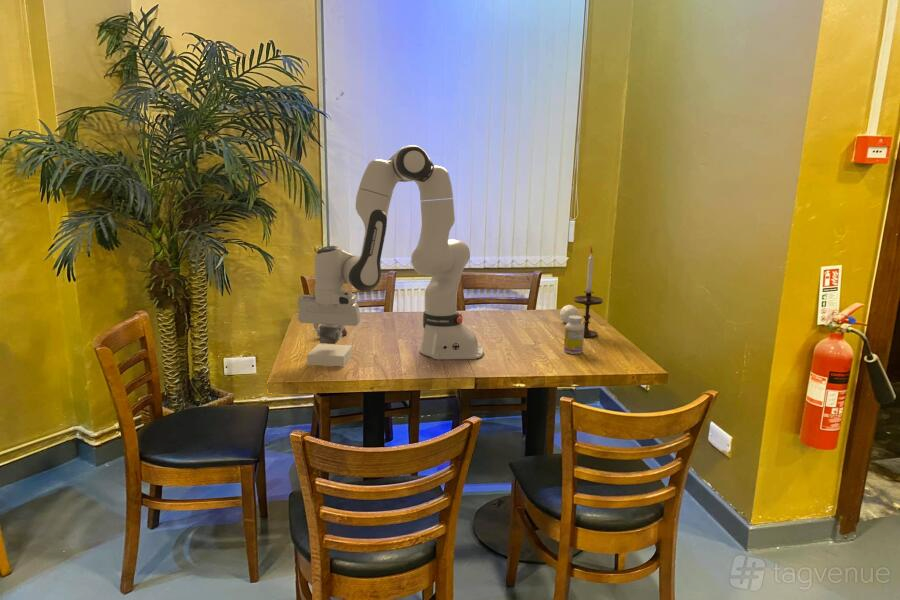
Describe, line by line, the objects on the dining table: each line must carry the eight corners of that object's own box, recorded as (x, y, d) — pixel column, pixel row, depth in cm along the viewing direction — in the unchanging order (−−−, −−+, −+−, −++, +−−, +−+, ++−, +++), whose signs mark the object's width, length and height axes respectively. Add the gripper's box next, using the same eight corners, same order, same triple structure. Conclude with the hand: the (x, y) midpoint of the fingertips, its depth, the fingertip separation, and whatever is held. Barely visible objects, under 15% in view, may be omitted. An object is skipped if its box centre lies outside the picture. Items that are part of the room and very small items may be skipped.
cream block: (352, 356, 218) (352, 345, 217) (343, 368, 206) (343, 356, 205) (318, 355, 219) (318, 343, 218) (307, 366, 207) (307, 354, 206)
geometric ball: (563, 329, 266) (552, 313, 266) (575, 320, 270) (564, 304, 270) (574, 324, 259) (563, 308, 259) (586, 315, 263) (575, 299, 263)
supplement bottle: (567, 348, 231) (569, 313, 228) (584, 350, 228) (587, 316, 225) (561, 352, 225) (563, 317, 222) (579, 355, 222) (582, 320, 219)
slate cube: (339, 339, 214) (338, 325, 212) (334, 344, 209) (334, 329, 208) (324, 338, 214) (324, 324, 213) (319, 343, 209) (319, 328, 208)
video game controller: (342, 337, 244) (337, 319, 245) (349, 334, 241) (343, 316, 242) (321, 342, 237) (315, 324, 238) (327, 339, 234) (321, 321, 235)
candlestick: (587, 340, 241) (594, 248, 233) (565, 333, 249) (571, 245, 241) (605, 335, 248) (612, 246, 240) (583, 329, 256) (589, 242, 248)
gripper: (294, 296, 206) (295, 337, 209) (356, 300, 204) (356, 341, 207) (301, 292, 212) (302, 332, 215) (361, 295, 210) (361, 335, 213)
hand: (329, 336), depth 211 cm, fingers closed on slate cube, 5 cm apart
